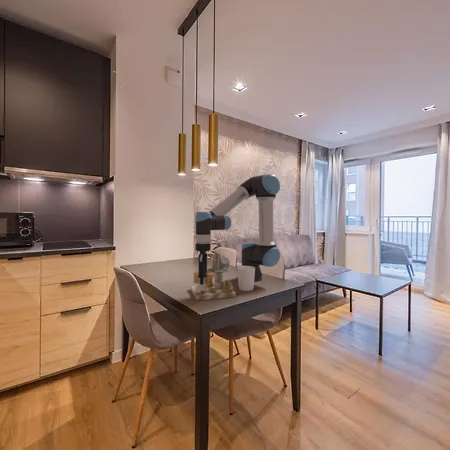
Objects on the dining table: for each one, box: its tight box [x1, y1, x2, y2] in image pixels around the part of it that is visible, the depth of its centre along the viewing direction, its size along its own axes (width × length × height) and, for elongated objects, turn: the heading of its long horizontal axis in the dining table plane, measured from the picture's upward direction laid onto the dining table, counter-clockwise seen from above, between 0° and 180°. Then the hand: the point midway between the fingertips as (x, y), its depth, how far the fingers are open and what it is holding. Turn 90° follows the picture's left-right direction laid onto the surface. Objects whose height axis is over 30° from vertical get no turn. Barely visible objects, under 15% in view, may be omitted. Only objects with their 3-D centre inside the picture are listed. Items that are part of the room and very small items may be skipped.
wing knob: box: [193, 271, 214, 293], centre depth 127 cm, size 3×10×10 cm, turn 65°
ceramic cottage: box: [211, 249, 231, 273], centre depth 190 cm, size 16×16×15 cm
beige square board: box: [190, 270, 237, 301], centre depth 134 cm, size 20×18×11 cm
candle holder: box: [237, 265, 255, 292], centre depth 141 cm, size 10×10×12 cm
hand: (202, 288), depth 127 cm, fingers closed on wing knob, 4 cm apart
